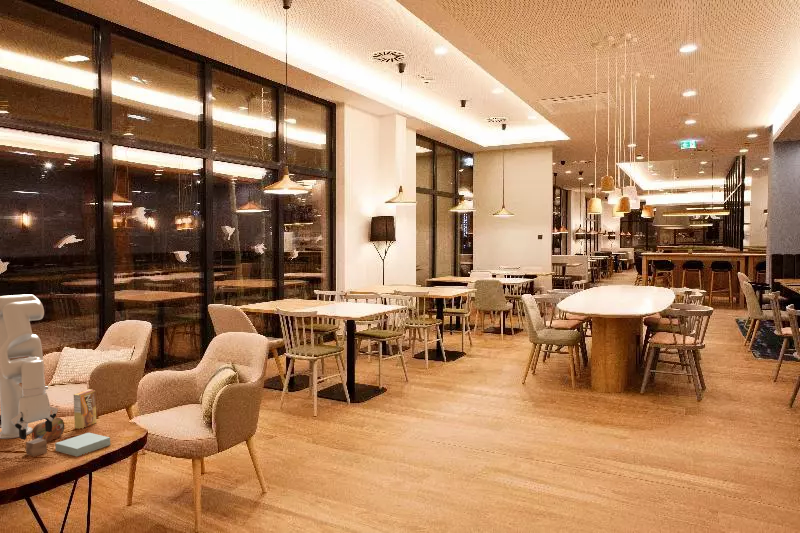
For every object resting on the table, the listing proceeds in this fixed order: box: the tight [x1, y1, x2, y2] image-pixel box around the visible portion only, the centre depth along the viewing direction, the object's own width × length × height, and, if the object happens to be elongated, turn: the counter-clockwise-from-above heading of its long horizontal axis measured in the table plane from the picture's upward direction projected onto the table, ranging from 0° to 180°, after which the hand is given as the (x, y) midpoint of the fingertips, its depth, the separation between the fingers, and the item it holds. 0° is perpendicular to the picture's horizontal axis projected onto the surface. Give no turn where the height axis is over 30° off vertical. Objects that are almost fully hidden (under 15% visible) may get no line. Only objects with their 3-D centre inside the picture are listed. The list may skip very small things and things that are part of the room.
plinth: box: [54, 432, 111, 457], centre depth 233 cm, size 14×14×3 cm
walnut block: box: [25, 438, 48, 457], centre depth 227 cm, size 5×5×5 cm
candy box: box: [73, 388, 97, 429], centre depth 261 cm, size 9×4×15 cm, turn 167°
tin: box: [31, 417, 65, 444], centre depth 242 cm, size 15×3×8 cm, turn 168°
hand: (36, 435), depth 227 cm, fingers open, 9 cm apart
